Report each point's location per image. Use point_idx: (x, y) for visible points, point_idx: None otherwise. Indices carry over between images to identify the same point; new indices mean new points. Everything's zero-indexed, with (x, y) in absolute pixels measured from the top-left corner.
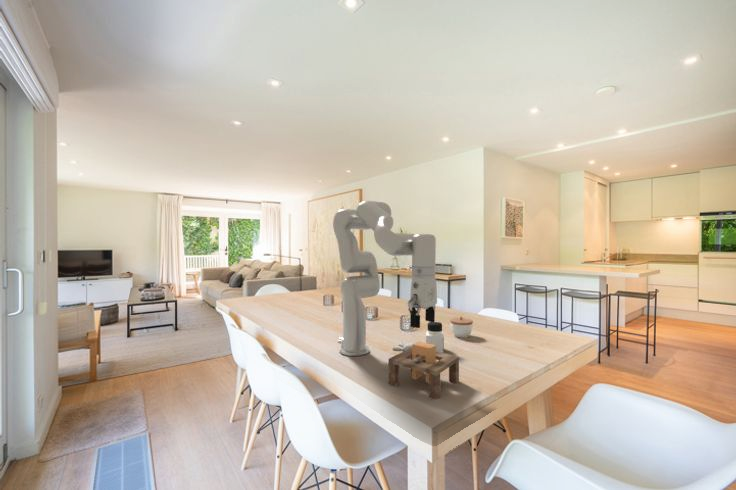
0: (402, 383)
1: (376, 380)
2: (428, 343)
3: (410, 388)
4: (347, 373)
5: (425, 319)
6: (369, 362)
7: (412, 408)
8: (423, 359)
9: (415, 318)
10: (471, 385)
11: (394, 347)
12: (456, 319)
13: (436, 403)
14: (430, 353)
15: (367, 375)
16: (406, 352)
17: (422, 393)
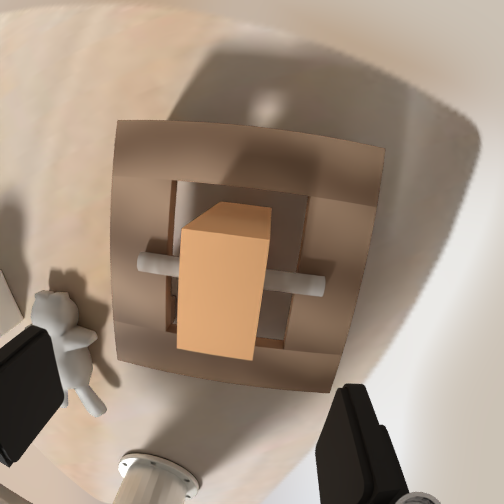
0: None
1: None
2: (3, 326)
3: None
4: (304, 445)
5: (61, 404)
6: (198, 435)
7: (438, 203)
8: (74, 309)
9: (401, 477)
10: (175, 81)
11: (98, 413)
12: None
13: (379, 144)
14: (260, 231)
15: (290, 408)
16: (209, 365)
17: None
